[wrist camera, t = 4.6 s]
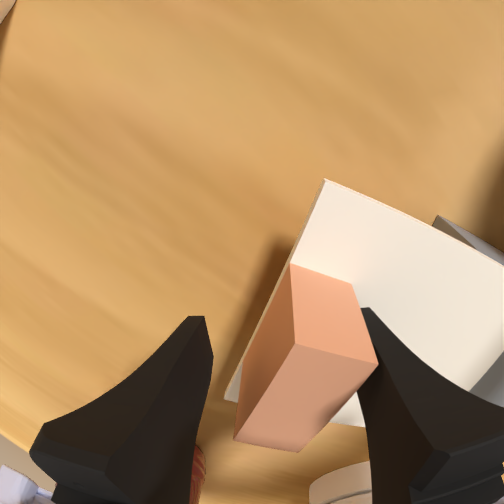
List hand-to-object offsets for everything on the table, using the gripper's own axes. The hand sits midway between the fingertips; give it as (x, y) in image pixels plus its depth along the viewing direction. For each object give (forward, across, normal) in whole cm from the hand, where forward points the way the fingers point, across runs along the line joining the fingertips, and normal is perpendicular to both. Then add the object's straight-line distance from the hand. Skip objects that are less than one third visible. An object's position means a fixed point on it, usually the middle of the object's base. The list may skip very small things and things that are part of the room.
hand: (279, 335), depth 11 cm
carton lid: (+1, -5, +2) cm, 6 cm away
